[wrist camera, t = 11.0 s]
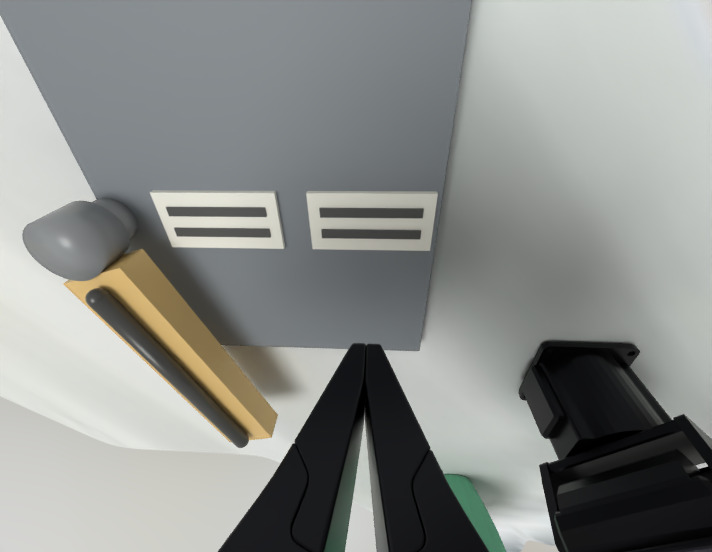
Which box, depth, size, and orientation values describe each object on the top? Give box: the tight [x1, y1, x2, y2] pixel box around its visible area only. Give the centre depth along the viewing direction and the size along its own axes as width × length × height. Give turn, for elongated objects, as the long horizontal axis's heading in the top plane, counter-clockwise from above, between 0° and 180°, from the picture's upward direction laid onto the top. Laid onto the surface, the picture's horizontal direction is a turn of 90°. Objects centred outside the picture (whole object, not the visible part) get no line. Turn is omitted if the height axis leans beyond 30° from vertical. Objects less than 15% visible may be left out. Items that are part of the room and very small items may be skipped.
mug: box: [444, 474, 506, 552], centre depth 32 cm, size 15×10×10 cm
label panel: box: [0, 0, 472, 351], centre depth 17 cm, size 19×20×2 cm
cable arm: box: [22, 201, 278, 448], centre depth 19 cm, size 19×4×3 cm, turn 18°
